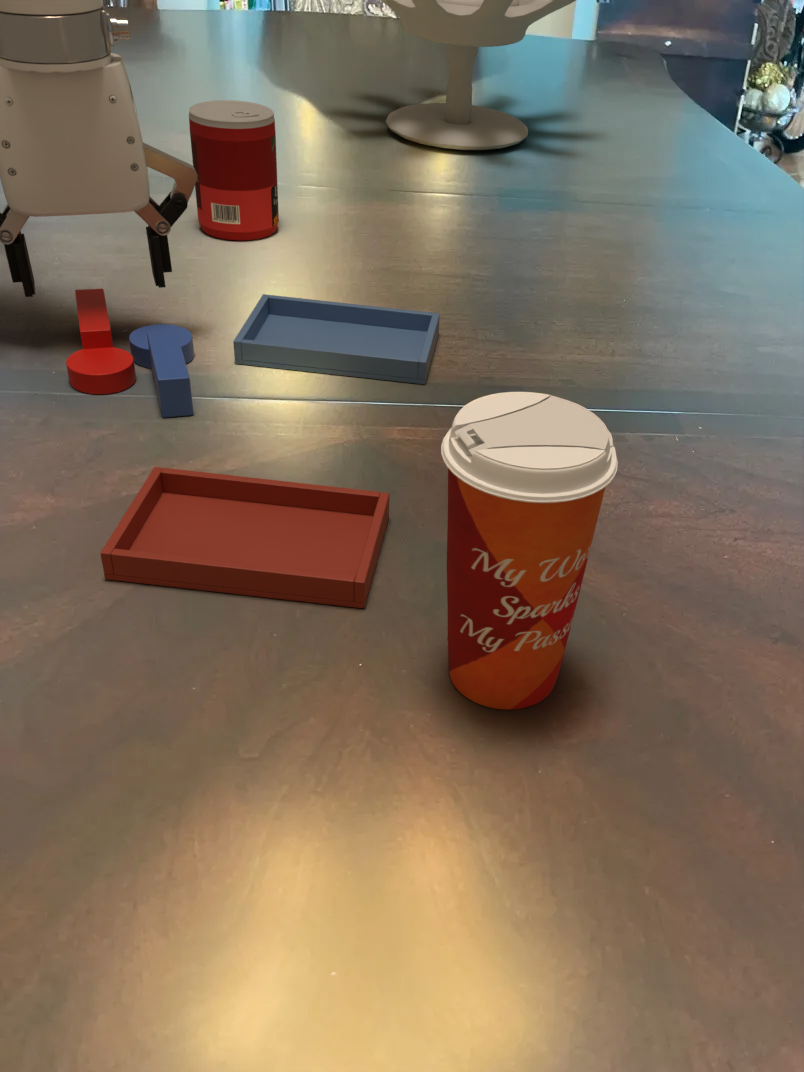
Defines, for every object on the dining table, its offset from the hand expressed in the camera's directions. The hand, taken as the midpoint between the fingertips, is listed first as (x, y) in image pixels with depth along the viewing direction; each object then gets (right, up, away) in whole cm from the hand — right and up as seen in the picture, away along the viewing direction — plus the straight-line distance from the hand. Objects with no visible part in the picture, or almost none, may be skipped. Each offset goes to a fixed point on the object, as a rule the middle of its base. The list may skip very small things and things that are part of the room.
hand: (95, 285), depth 82 cm
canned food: (+6, +14, +25) cm, 29 cm away
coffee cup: (+31, -30, -24) cm, 49 cm away
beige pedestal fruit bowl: (+27, +39, +57) cm, 74 cm away
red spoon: (0, -5, 0) cm, 5 cm away
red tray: (+16, -22, -17) cm, 32 cm away
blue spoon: (+6, -7, -1) cm, 10 cm away
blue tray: (+18, -3, +5) cm, 19 cm away
